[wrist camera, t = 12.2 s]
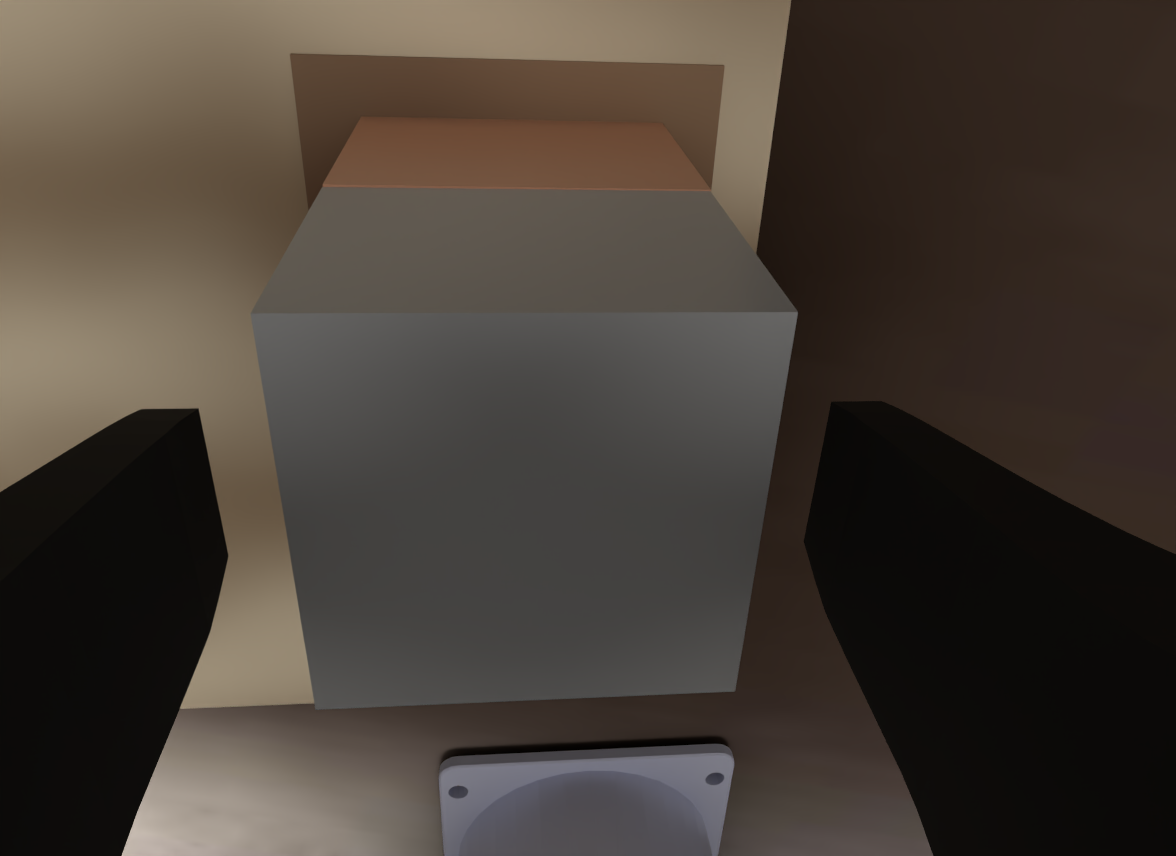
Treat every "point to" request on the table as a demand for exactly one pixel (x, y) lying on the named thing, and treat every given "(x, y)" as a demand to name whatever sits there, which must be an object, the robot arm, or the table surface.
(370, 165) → the terracotta brick
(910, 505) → the robot arm
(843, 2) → the table surface
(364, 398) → the grey brick
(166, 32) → the board
